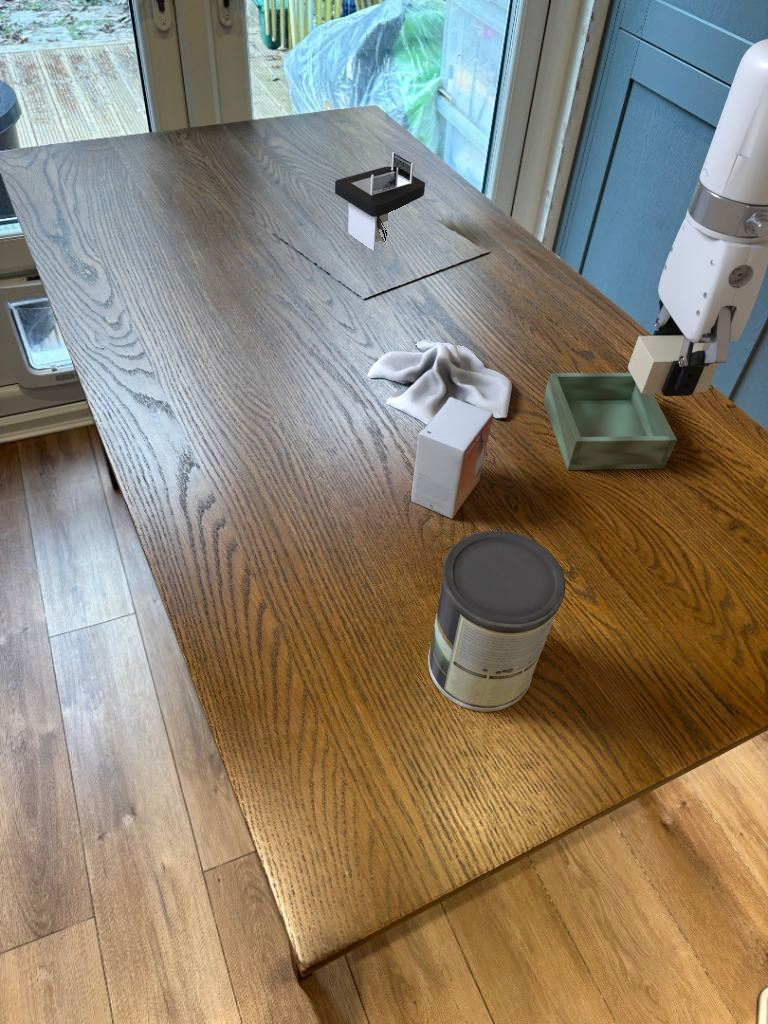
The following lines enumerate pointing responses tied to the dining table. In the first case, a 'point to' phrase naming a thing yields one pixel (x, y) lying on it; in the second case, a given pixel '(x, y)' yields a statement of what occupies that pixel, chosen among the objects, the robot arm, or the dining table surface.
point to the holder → (606, 422)
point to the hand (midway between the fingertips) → (667, 377)
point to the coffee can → (493, 618)
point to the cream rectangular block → (662, 363)
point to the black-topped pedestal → (377, 198)
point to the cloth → (442, 380)
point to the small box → (450, 456)
